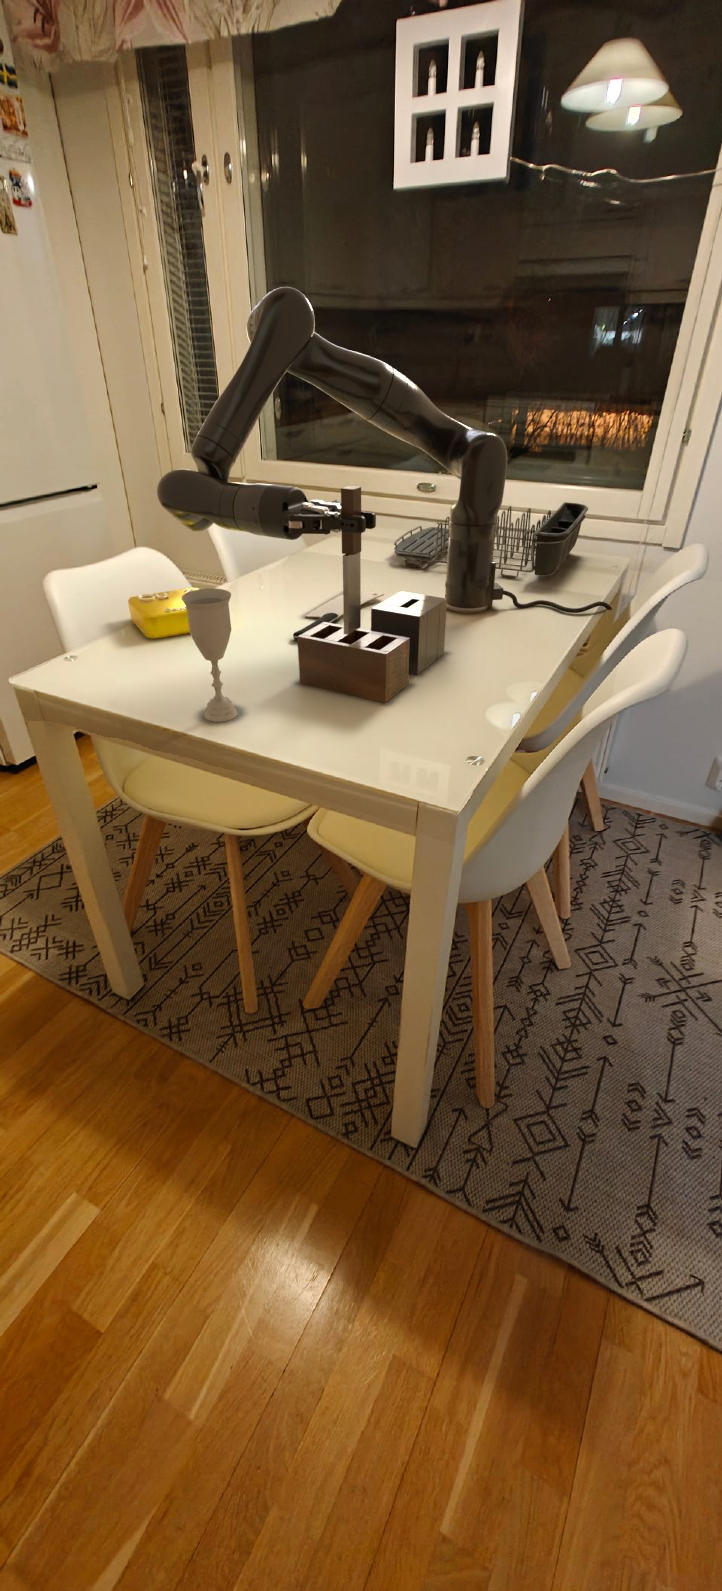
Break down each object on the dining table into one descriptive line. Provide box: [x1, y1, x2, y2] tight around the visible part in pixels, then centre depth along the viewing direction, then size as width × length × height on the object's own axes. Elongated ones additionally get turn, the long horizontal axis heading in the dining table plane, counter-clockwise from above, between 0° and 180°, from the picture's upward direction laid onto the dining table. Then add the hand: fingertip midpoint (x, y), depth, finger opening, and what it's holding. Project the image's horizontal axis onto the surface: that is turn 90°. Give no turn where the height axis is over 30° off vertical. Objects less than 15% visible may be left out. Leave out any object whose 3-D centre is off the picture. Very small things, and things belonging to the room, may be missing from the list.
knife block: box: [370, 590, 448, 675], centre depth 124 cm, size 11×9×10 cm
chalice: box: [181, 587, 239, 723], centre depth 104 cm, size 7×7×18 cm
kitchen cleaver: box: [292, 591, 385, 642], centre depth 147 cm, size 31×2×10 cm
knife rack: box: [296, 622, 410, 703], centre depth 116 cm, size 8×16×8 cm, turn 61°
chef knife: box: [340, 485, 362, 635], centre depth 107 cm, size 4×2×21 cm, turn 150°
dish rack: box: [393, 501, 589, 579], centre depth 181 cm, size 34×44×12 cm
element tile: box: [127, 587, 199, 640], centre depth 143 cm, size 15×15×5 cm
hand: (369, 522), depth 103 cm, fingers closed on chef knife, 2 cm apart
